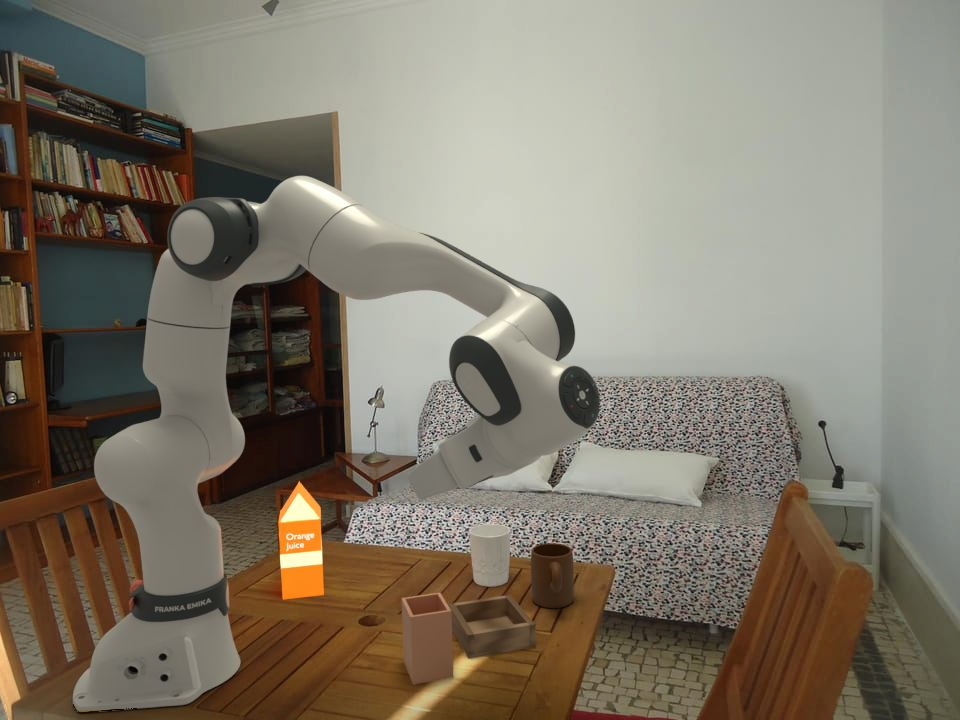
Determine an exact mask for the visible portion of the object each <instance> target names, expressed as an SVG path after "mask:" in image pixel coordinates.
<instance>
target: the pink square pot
mask: <svg viewBox="0 0 960 720" xmlns="http://www.w3.org/2000/svg"><path fill="white" fill-rule="evenodd" d="M400 600H401V615H402V616H401V618H402V619H401V620H402V622H401V623H402V624H401V625H402V645H403V648H402V649H403V650H402V651H403V663H404V665H405V668H406V671H407V673H408V675H409V678H410V680H411V683H412V685H417V684H423V683H425V684H426V683H430V682H434V681H440V680H445V679H452V678H454V653H453V652H454V647H453V645H454V643H453V631H452V611H451V609H450V608H449V606H448V604H449V603H447V601H446V600H445V598H444V597H443V594H442V593H441V592H433V593H427V594H419V595H413V596H408V597H407V596H406V597H401V599H400Z"/></svg>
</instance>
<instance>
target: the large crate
mask: <svg viewBox="0 0 960 720" xmlns="http://www.w3.org/2000/svg"><path fill="white" fill-rule="evenodd" d="M447 604H448V606H449V608H450V609H451V611H452V634H453V635H454V636H455V638H456V641H457V642H458V644H459V645H460V647H461V648H462V650H463V652H464V653H465V655H466V657H467V659H469V660H470V659H474V658H479V657H485V656H493V655H498V654H503V653H509V652H514V651H515V652H516V651H519V650H525V649H531V648H537V647H536V646H537V645H536V643H537V641H536V639H537V636H536V633H537V632H536V631H537V630H536V623H535V622H534V621H533V620H532V619H531V617H530V616H529V615H528V614H527V613H526V612H525V610H524V609H523V608H522V607H521V606H520V604H519V603H518V602H517V601H516V600H515V598H514V597H513V596H512V595H511V594H508V595H506V594H505V595H500V596H493V597H486V598H481V599H474V600H467V601H460V602H454V603H452V602H451V603H447Z"/></svg>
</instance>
